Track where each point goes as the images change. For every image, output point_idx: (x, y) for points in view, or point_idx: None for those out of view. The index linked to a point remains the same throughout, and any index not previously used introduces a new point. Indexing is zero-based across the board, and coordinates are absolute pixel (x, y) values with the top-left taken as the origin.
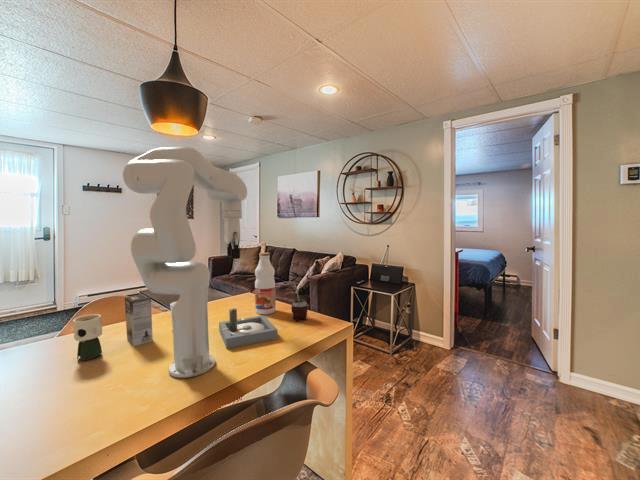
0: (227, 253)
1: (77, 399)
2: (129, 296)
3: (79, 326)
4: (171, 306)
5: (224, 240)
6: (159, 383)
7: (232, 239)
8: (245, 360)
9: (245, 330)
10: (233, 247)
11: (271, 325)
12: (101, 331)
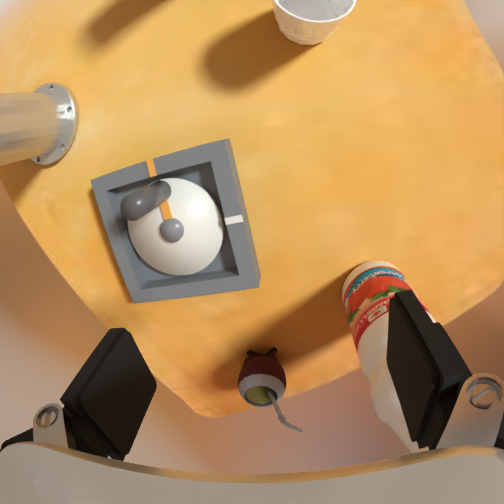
0: (407, 306)
1: (22, 8)
2: None
3: None
4: None
5: (488, 463)
6: (21, 91)
7: None
8: (59, 219)
9: (157, 224)
10: (42, 420)
11: (162, 295)
12: None
